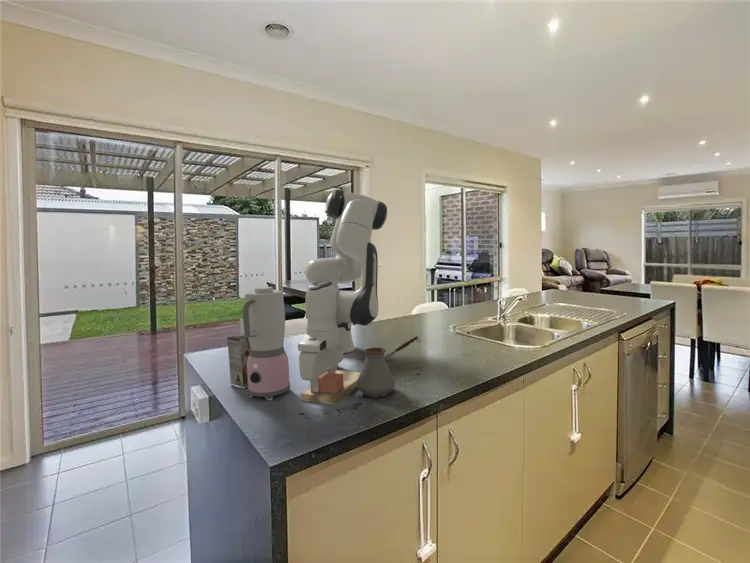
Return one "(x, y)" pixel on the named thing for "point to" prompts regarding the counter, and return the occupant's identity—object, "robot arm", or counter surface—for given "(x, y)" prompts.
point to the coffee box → (238, 359)
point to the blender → (266, 342)
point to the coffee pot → (377, 372)
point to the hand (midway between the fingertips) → (324, 385)
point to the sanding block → (330, 383)
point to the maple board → (349, 385)
